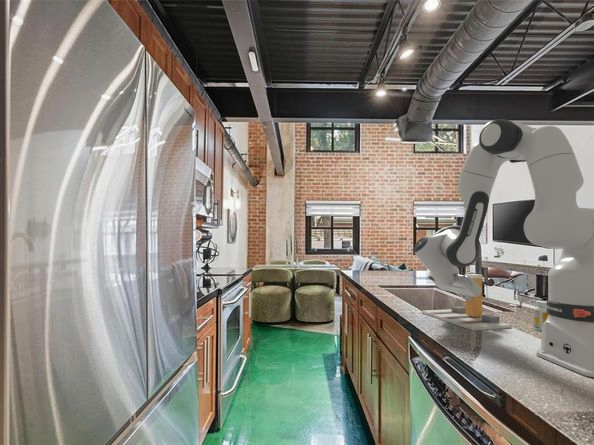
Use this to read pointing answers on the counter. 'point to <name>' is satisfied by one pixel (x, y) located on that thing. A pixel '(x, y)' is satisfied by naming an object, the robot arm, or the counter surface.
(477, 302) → the glass of beer
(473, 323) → the panel
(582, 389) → the counter surface
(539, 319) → the supplement bottle
